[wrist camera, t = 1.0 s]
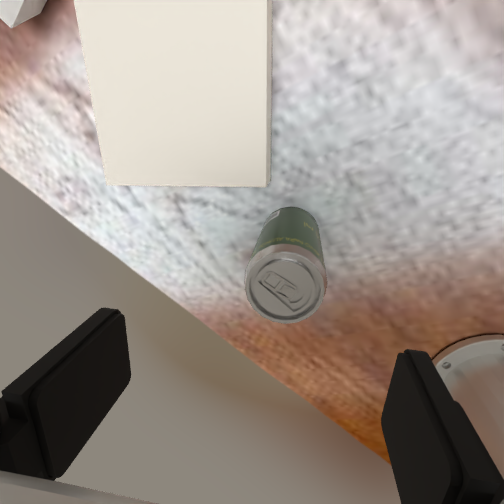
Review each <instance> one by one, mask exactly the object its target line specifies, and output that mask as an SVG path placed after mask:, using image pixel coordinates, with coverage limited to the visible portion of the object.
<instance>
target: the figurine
mask: <svg viewBox="0 0 504 504" xmlns="http://www.w3.org/2000/svg"><path fill="white" fill-rule="evenodd" d="M46 1H47V0H0V18H1V19H2V20H3V21H4V22H5V23H6V24H7V25H8V26H9V27H10V28H11V29H12V28H14V27H15V26H17V25H19V24H21V23H23V22H25V21H27V20H29V19H31V18H33V17H35V16H36V15H38V14H40V13H41V12H42V10H43V8H44V5H45V3H46Z"/></svg>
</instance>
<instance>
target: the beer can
mask: <svg viewBox="0 0 504 504" xmlns="http://www.w3.org/2000/svg"><path fill="white" fill-rule="evenodd" d="M244 283H245V290H246V294H247V298H248V301H249V302H250V304H251V306H252V307H253V309H254V310H255V311H257V312H258V313H259V314H260V315H261V316H262V317H264V318H266V319H269V320H271V321H273V322H278V323H285V324H286V323H296V322H299V321H302V320H304V319H307V318H308V317H310V316H311V315H312V314H313V313H314V312H316V311H317V309H318V308H319V306H320V304H321V303H322V301H323V297H324V295H325V292H326V287H327V277H326V271H325V265H324V259H323V253H322V247H321V241H320V235H319V229H318V225H317V223H316V221H315V219H314V218H313V217H312V216H311V215H310V214H309V213H308V212H306V211H304V210H302V209H300V208H295V207H287V208H281V209H279V210H277V211H275V212H274V213H272V214H271V215H270V216H269V218H268V219H267V220H266V222H265V224H264V227H263V229H262V231H261V234H260V236H259V239H258V241H257V244H256V246H255V249H254V251H253V253H252V256H251V258H250V261H249V263H248V266H247V268H246V271H245V281H244Z"/></svg>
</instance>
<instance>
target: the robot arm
mask: <svg viewBox="0 0 504 504" xmlns="http://www.w3.org/2000/svg"><path fill="white" fill-rule="evenodd" d="M130 378H131V370H130V360H129V351H128V343H127V334H126V326H125V317H124V315H123V314H121V312H120V311H119V310H118V309H110V308H101V309H99V310H98V311H97V312H96V313H94V314H93V315H92V316H91V317H90V318H88V319H87V320H86V321H85V322H84V323H82V324H81V325H80V326H79V327H78V328H76V329H75V330H74V331H73V332H72V333H71V334H69V335H68V336H67V337H66V338H65V339H63V340H62V341H61V342H60V343H59V344H57V345H56V346H55V347H54V348H53V349H51V350H50V351H49V352H48V353H47V354H45V355H44V356H43V357H42V358H41V359H40V360H38V361H37V362H36V363H35V364H34V365H32V366H31V367H30V368H29V369H28V370H26V371H25V372H24V373H23V374H22V375H20V376H19V377H18V378H17V379H16V380H14V381H13V382H12V383H11V384H10V385H8V386H7V387H6V388H5V389H4V390H2V395H3V396H2V397H1V398H0V504H157V503H153V502H148V501H144V500H139V499H135V498H130V497H125V496H120V495H116V494H112V493H107V492H103V491H98V490H93V489H89V488H84V487H79V486H75V485H70V484H65V483H61V482H56V481H54V480H55V479H56V478H59V477H61V476H62V475H63V474H64V473H65V472H66V470H67V469H68V467H69V466H70V465H71V463H72V462H73V461H74V459H75V458H76V456H77V455H78V453H79V452H80V451H81V449H82V448H83V447H84V445H85V444H86V442H87V441H88V440H89V438H90V437H91V436H92V434H93V433H94V431H95V430H96V429H97V427H98V426H99V424H100V423H101V421H102V420H103V419H104V417H105V416H106V415H107V413H108V412H109V410H110V409H111V408H112V406H113V405H114V403H115V402H116V401H117V399H118V398H119V396H120V395H121V394H122V392H123V391H124V389H125V388H126V387H127V385H128V384H129V381H130ZM381 424H382V430H383V434H384V438H385V442H386V446H387V449H388V453H389V457H390V461H391V465H392V469H393V473H394V476H395V480H396V484H397V488H398V492H399V496H400V500H401V504H504V335H483V336H478V337H472V338H469V339H466V340H463V341H460V342H458V343H456V344H454V345H452V346H450V347H448V348H446V349H445V350H444V351H442V352H441V353H439V354H438V355H437V356H436V357H435V358H434V359H433V360H431V358H430V357H429V355H428V353H427V352H424V351H417V350H409V349H406V350H405V351H404V353H399V354H398V356H397V360H396V363H395V367H394V371H393V375H392V379H391V382H390V386H389V390H388V394H387V398H386V401H385V405H384V409H383V413H382V418H381Z"/></svg>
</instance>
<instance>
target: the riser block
mask: <svg viewBox="0 0 504 504" xmlns="http://www.w3.org/2000/svg"><path fill="white" fill-rule="evenodd" d="M74 4H75V10H76V16H77V21H78V27H79V33H80V38H81V44H82V49H83V55H84V61H85V66H86V72H87V78H88V83H89V89H90V95H91V100H92V106H93V112H94V117H95V123H96V128H97V134H98V140H99V145H100V151H101V157H102V162H103V168H104V174H105V179H106V185H126V186H208V187H267V185H268V184H269V182H270V180H271V97H272V0H74Z"/></svg>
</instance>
